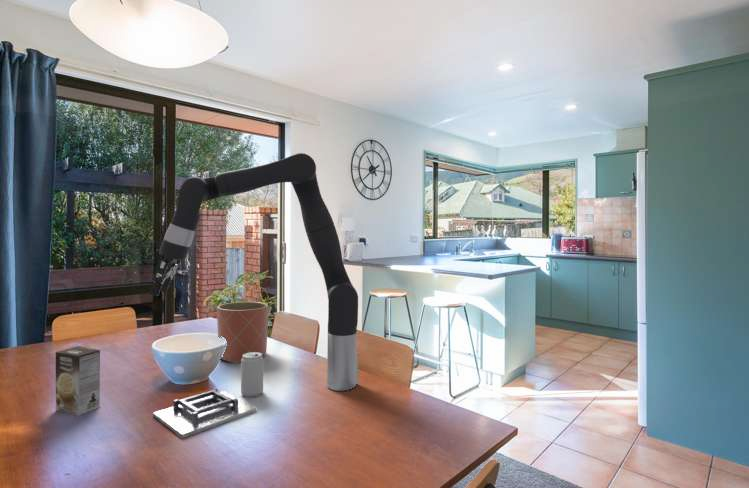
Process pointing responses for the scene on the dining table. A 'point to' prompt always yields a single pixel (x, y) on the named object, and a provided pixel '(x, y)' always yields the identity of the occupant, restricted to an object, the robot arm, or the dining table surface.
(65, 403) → the coffee box
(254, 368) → the beverage can
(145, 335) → the dining table surface
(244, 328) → the planter
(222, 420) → the collar stand
